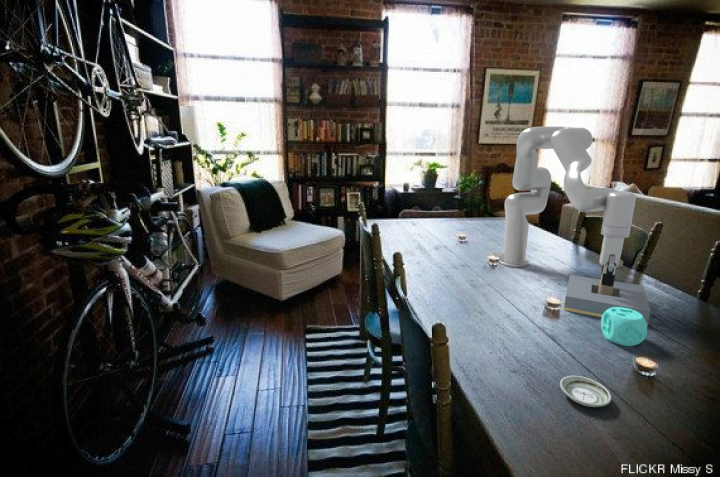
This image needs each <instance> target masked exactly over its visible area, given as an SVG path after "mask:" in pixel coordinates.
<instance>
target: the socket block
mask: <svg viewBox="0 0 720 477" xmlns="http://www.w3.org/2000/svg"><path fill="white" fill-rule="evenodd" d="M600 280H601V278H600V279H599V278H594V277H586V276H581V275H575V274H570V275H569V279H568V284H567V288H566V294H565V299H564V306H563V307H564V308H563V310H564V311H567V312H570V313H571V312H572V313H576V314H577V313H578V314H582V315H588V316H593V317H597V318H602V315H603V313H604V312H605V311H606V310H608V309H609V308H612V307H624V308H628V309H632V310H635V311H637V312H639V313H640V314H641V315H642V316H643V317H644V319H645V321H646V324H647V327H648V325H649V321H650V315H651V308H650V305H649V300H648V297H647V295H646V294H647V293H646V290H645V287H644V285H641V284H640V285H639V284H635V283H626V282H622V281H621V282H620V281H615V280H614V287H613V292H612V295H611V296H608V295H602V294H598V290H599V284H600Z"/></svg>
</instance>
